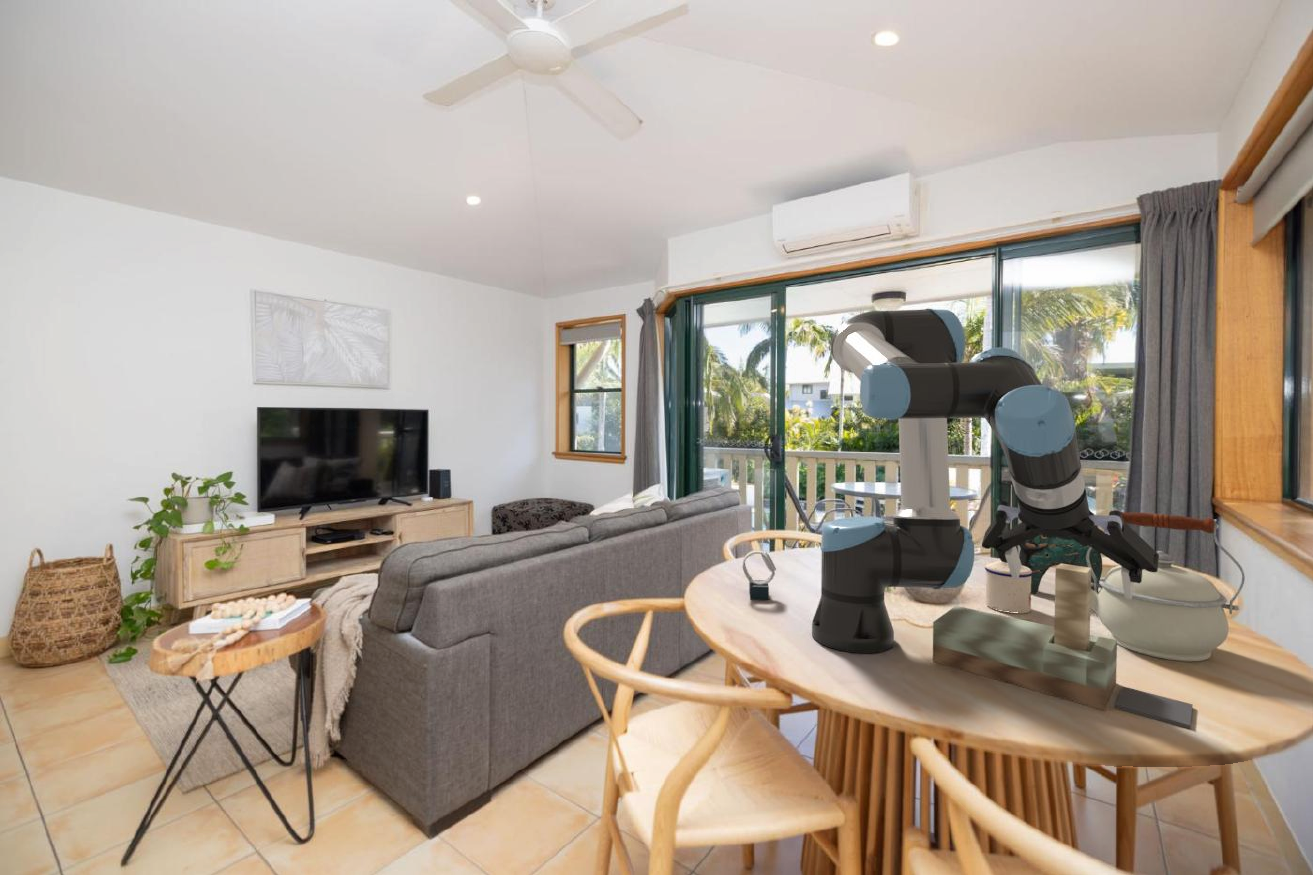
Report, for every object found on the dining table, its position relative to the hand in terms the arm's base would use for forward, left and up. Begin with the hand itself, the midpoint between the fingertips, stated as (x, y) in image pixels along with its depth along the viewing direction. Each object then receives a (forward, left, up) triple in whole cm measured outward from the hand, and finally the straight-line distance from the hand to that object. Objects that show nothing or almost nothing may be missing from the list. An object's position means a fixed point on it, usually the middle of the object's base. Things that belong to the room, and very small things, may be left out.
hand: (1070, 580), depth 84 cm
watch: (-63, +10, -19) cm, 66 cm away
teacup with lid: (-19, +43, -19) cm, 51 cm away
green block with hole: (-8, +7, -19) cm, 21 cm away
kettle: (+6, +37, -19) cm, 42 cm away
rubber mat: (+9, +7, -19) cm, 22 cm away
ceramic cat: (-13, +64, -19) cm, 68 cm away
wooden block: (-1, +7, -16) cm, 17 cm away
